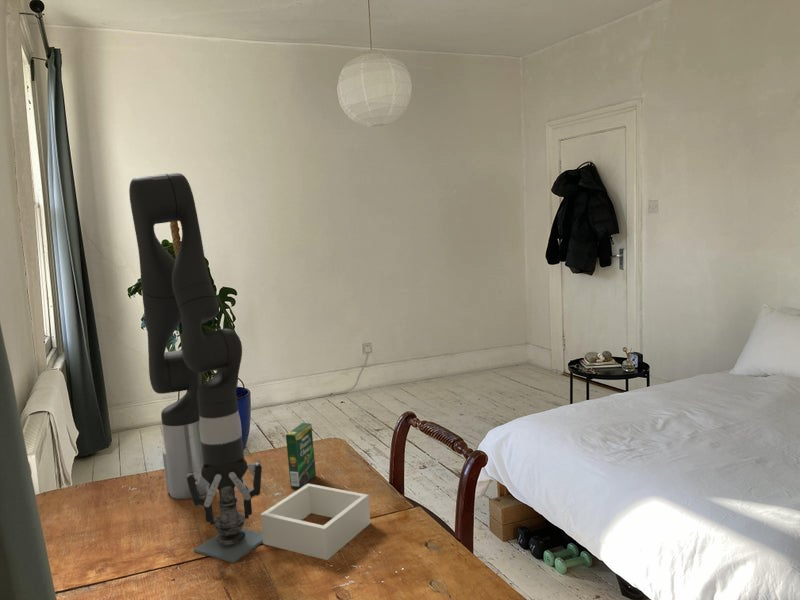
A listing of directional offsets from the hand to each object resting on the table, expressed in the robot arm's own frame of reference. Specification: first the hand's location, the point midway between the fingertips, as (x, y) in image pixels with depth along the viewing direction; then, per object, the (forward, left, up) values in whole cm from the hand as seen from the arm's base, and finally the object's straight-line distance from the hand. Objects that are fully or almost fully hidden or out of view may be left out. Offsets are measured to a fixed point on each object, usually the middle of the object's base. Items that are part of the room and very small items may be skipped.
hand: (229, 519), depth 124 cm
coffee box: (-5, +29, -5) cm, 30 cm away
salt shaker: (0, 0, -4) cm, 4 cm away
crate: (+13, +10, -5) cm, 17 cm away
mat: (0, 0, -5) cm, 5 cm away
